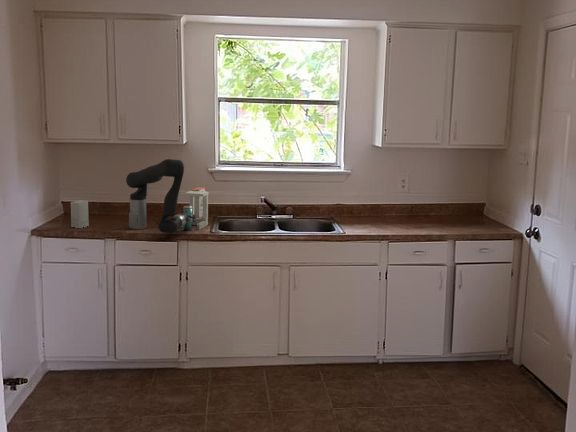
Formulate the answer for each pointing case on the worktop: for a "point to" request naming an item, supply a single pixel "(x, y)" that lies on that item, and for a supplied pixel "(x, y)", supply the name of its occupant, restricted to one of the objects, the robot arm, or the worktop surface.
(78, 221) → the skincare box
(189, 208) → the canister
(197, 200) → the cracker box
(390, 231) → the worktop surface
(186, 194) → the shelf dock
